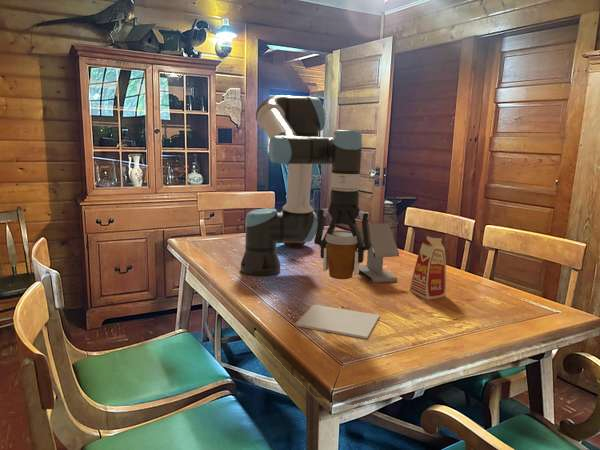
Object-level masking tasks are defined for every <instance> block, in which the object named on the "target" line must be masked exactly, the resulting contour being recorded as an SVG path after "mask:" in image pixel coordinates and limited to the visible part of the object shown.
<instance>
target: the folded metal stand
mask: <svg viewBox="0 0 600 450" xmlns="http://www.w3.org/2000/svg"><path fill="white" fill-rule="evenodd" d="M369 231H370V240H371V248H370V249H369V250H367V255H366V258H367V259H366V264H364V265H363V264H362V265H360V264H359V272H362V273H364V274H365V275H366V276H368V277H370V279H371V280H370V282H371V283H372V284H383V283H384V284H385V283H397V281H398V276H395V275H394V274H392V273H390V272H389V271H387V270H385V269H384V267H383V265H384V258H392V257H393V258H395V257H400V252H399V249H398V246H397V242H396V240H395V237H394V234H393V231H392V228H391V226H390V224H389V223H388V222H387V223H386V222H385V223H369ZM359 234H360V237H361V239H362V242H363V245H364V237H363V228H362V229H361V231H360V232H359Z"/></svg>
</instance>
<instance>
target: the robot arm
mask: <svg viewBox="0 0 600 450" xmlns="http://www.w3.org/2000/svg"><path fill="white" fill-rule="evenodd" d="M325 113H326V112H325V108H324V104H323V102H322V101H321V99H320V98H318V97H314V96H309V95H307V96H305V95H302V96H301V95H284V94H280V95H279V94H276V95H273V96H270V97H268V98H265V99H263V101H262V102H260V104H259V105H258V107H257V108H256V110H255V121H256V123H257V125H258V127H259V128H260V129H261V130H262V131H264V132H265V133H266V135H267V137H268V139H269V144H268V155H269V160H270V162H271V163H273V164H280V165H288V176H287V189H286V190H287V192H286V193H287V194H286V195H287V196H286V203H285V204H284V205H283V206H282V210H281V211H282V212H281V211H280V212H278V210H277V209H276V208H273V207H269V208H268V207H265V208H257V209H253V210H250V211H249V212H247V213H246V215H245V223H244V226H245V240H244V241H245V242H244V243H245V249H244V253H243V255H242V260H241V263H240V272H241V271H242V272H241V273H243V274H245V273H246V275H248V274H249V275H250V276H255V275H256V276H257V277H259V276H260V277H261V276H263V277H264V276H273V275H277V274H279V273H281V263H280V260H279V255H278V252H277V244H284V243H303V242H306V243H310V242H312V241H314V245H318V246H319V247H320V256H319V257H320V258H321V259H323V264H322V265H323V266H322V271H323V272H326V271H329V264H328V253H327V241H326V239H325V237H326V235H327V233H328V234H332V233H333V231H335V229H336V227H337V225H341V224H342V225H347V226H348V228H349V229H350V231H351V232H352V235H353V236H357V241H358V242H357V244H356V246H357V251H355V264H354V270H353V276H357V275H359V273H360V270H359V266H360V264H362V263H363V261H364V255H365V254H364V253H365V251H368V250H369V249H370V248H371V240H370V231H369V224H370V223H369V220H370V217H371V216H370V212H369V211H366V212H365V211H362V210H360V208H359V202H360V201H359V199H360V192H359V190H358V189H359V188H360V181H361V178H360V177H361V163H362V148H363V139H362V138H363V135H362V132H361V131H360V130H350V129H337V130H334V131H333V135H332V137H331V136H327V137H325V136H322V137H321V136H319V132H322V131H323V130H324V128H325V126H326V114H325ZM313 165H331V176H330V177H331V179H330V187H331V188H332V189H331V190H330V200H329V202H330V203H329V206H328V208H324V207H322V208H320V209H318V216H317V213H316V212H314V207H312V205H311V204H310V202H311V201H310V199H311V187H312V169H313ZM328 215H330V217H331V221H330V223H329V226H328V228H327V230H326V233H325V235H324V236H323V233H324V229H325V224H326V218H327V216H328ZM357 217H359V218H360V220H361V228H362V229H363V237H364V245H363V242H362V239H361V237H360V232H359V229H358V226H357V225H358V224H357V222H356V219H357ZM322 237H323V239H322Z"/></svg>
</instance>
